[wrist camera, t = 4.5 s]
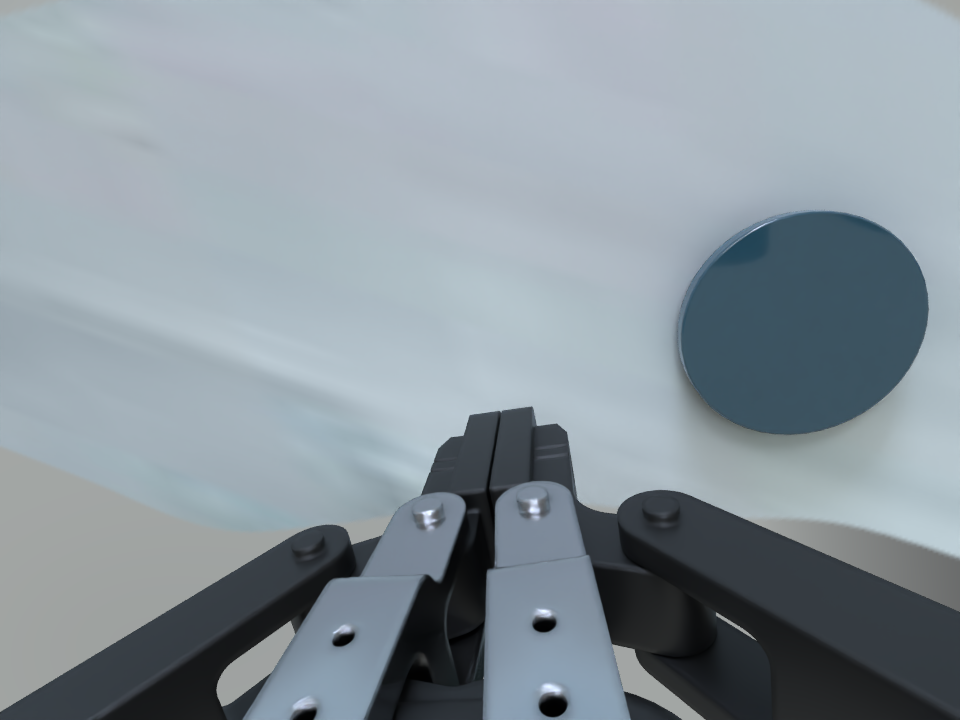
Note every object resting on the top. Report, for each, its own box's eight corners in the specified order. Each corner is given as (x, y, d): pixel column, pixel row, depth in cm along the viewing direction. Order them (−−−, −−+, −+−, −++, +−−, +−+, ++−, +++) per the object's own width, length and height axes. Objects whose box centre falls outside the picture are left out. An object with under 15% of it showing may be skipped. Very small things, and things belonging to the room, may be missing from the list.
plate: (799, 158, 16) (819, 156, 15) (953, 312, 17) (983, 321, 16) (627, 328, 18) (633, 338, 17) (772, 457, 19) (787, 475, 18)
